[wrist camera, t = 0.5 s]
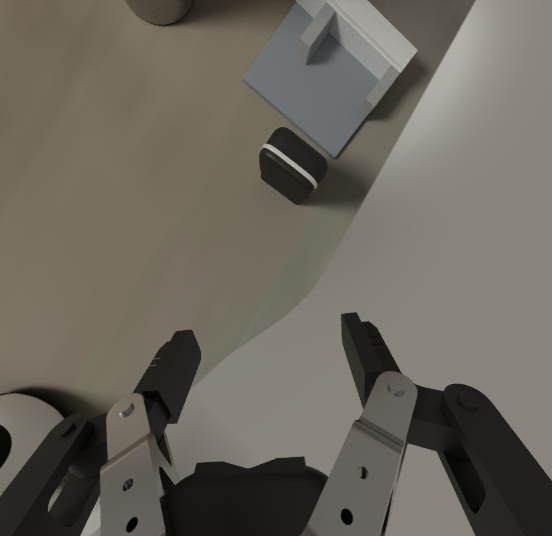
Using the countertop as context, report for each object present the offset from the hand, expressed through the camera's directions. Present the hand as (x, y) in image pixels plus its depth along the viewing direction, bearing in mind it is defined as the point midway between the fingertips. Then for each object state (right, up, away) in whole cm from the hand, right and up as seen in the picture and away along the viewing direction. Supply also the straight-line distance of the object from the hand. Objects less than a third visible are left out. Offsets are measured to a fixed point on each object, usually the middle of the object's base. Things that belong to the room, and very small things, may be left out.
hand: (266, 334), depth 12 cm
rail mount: (+7, +30, +19) cm, 36 cm away
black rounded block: (+2, +16, +21) cm, 27 cm away
